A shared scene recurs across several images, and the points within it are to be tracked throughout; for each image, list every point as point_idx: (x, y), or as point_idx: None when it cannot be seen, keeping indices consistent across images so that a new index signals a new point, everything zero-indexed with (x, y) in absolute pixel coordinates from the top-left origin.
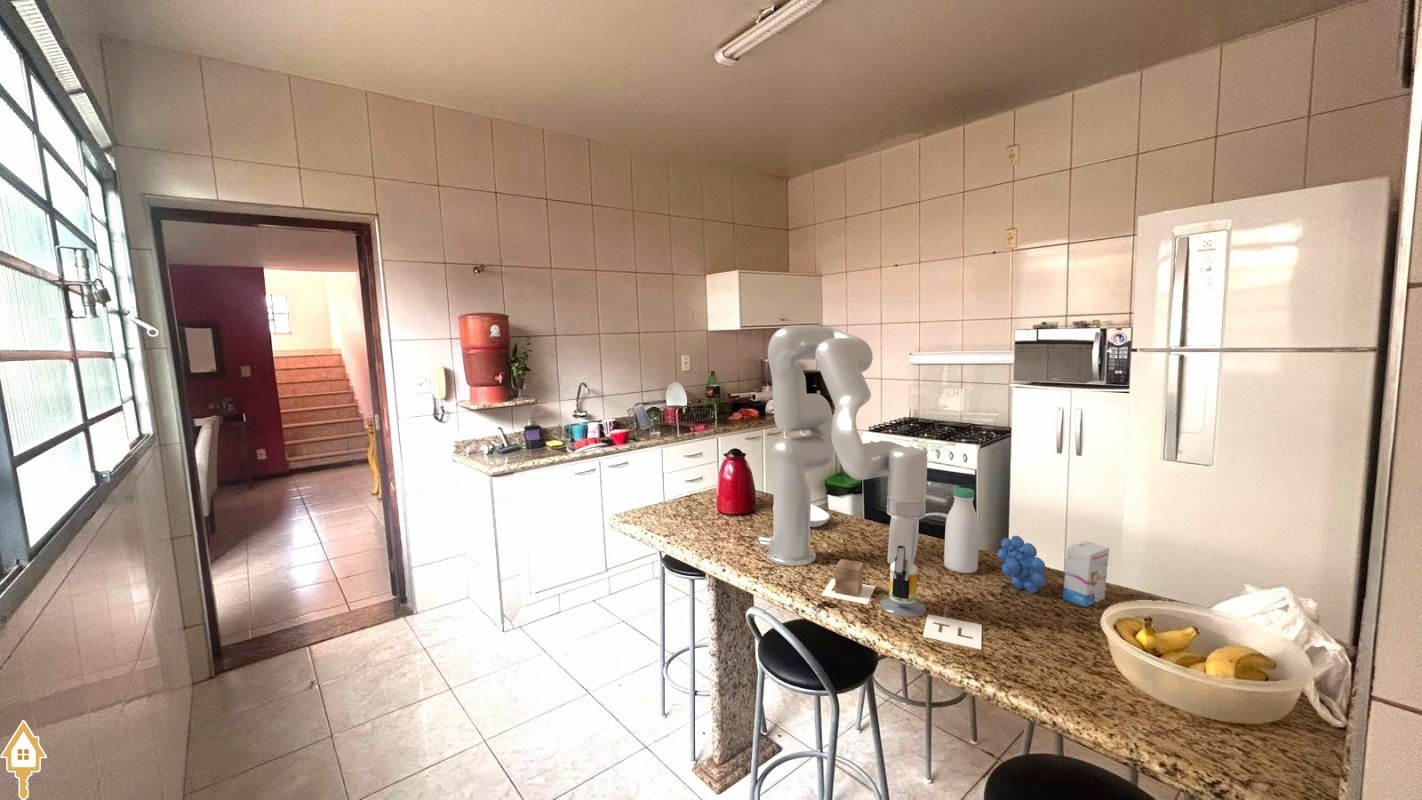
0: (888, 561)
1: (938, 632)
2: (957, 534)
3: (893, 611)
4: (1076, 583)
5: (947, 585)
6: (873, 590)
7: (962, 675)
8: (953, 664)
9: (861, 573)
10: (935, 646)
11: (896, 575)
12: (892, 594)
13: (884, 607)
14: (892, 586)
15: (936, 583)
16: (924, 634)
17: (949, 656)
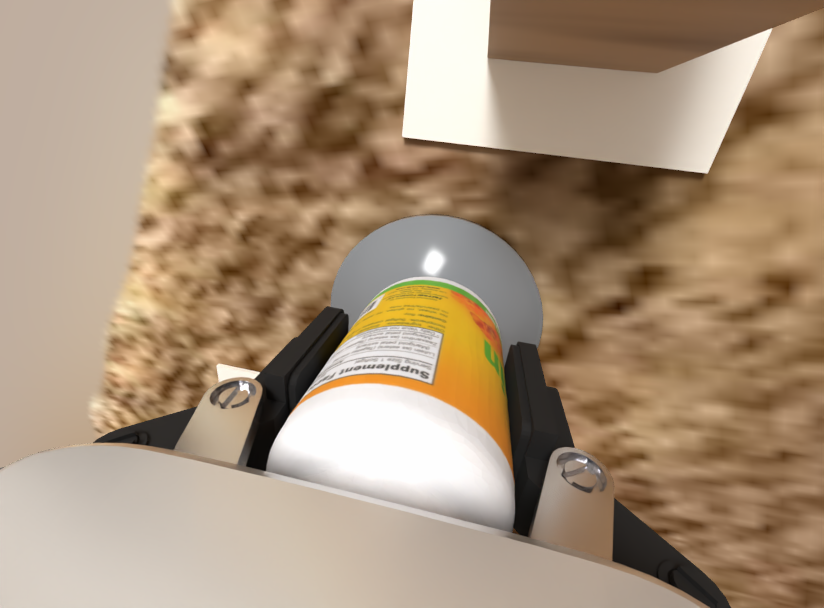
0: (2, 470)
1: None
2: None
3: (351, 279)
4: None
5: (750, 520)
6: (628, 163)
7: (94, 423)
8: (127, 415)
9: (673, 31)
10: (189, 390)
11: (144, 426)
12: (325, 308)
13: (378, 237)
14: (357, 325)
15: (779, 487)
16: (232, 372)
17: (159, 414)
